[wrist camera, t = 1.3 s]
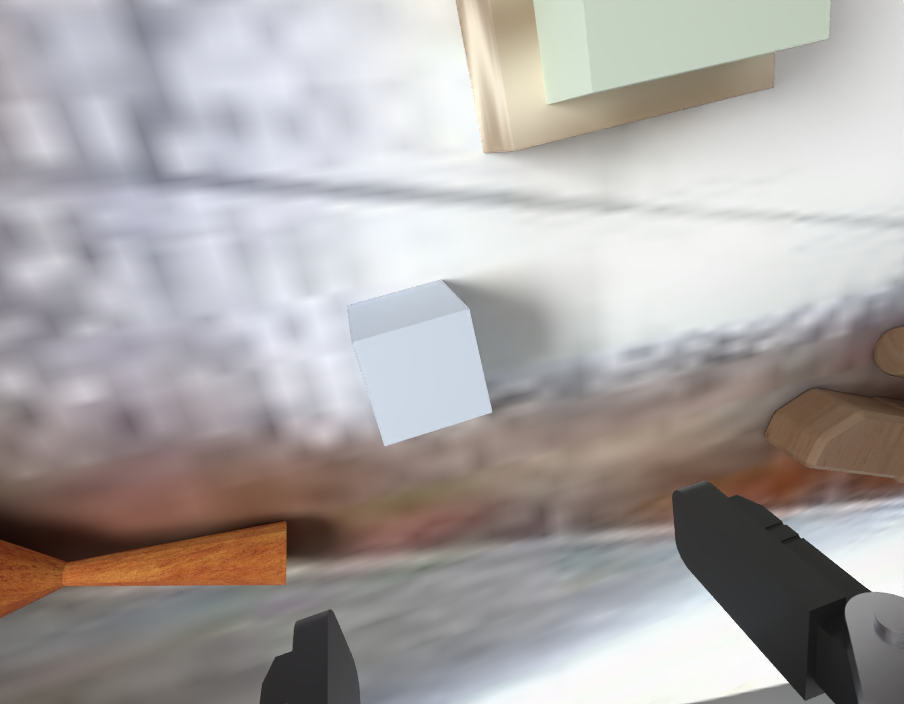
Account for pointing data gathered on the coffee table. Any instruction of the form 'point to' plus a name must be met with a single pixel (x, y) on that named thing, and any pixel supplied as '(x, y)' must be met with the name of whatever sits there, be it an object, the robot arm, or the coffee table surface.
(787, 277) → the coffee table surface
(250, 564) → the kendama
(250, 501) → the coffee table surface
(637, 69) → the tower top
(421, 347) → the blue block
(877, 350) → the wooden block set
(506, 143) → the tower base
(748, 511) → the robot arm
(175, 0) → the coffee table surface
